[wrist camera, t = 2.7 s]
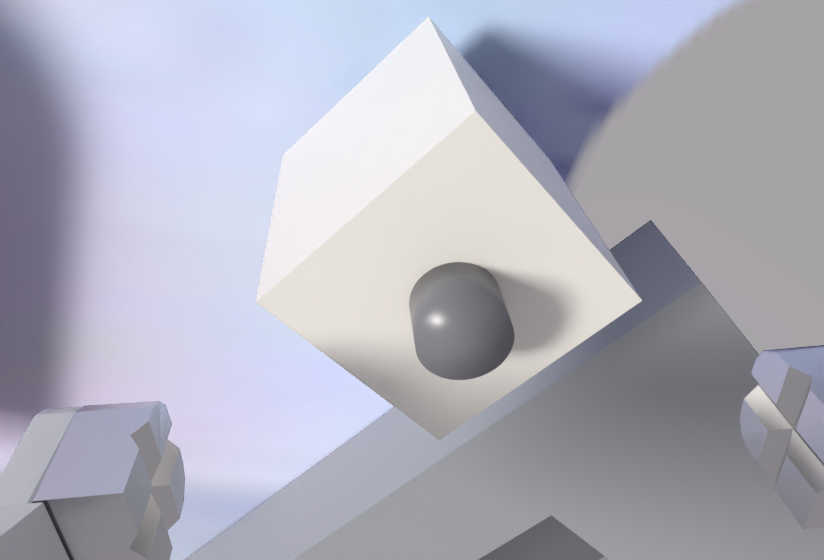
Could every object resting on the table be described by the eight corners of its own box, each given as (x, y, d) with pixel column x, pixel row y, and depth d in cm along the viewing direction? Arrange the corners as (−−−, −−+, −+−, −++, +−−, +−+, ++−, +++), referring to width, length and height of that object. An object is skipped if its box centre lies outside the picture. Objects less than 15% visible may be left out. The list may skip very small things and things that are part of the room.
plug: (422, 4, 14) (490, 139, 8) (537, 140, 16) (667, 340, 10) (286, 135, 16) (247, 343, 9) (407, 246, 18) (446, 485, 11)
